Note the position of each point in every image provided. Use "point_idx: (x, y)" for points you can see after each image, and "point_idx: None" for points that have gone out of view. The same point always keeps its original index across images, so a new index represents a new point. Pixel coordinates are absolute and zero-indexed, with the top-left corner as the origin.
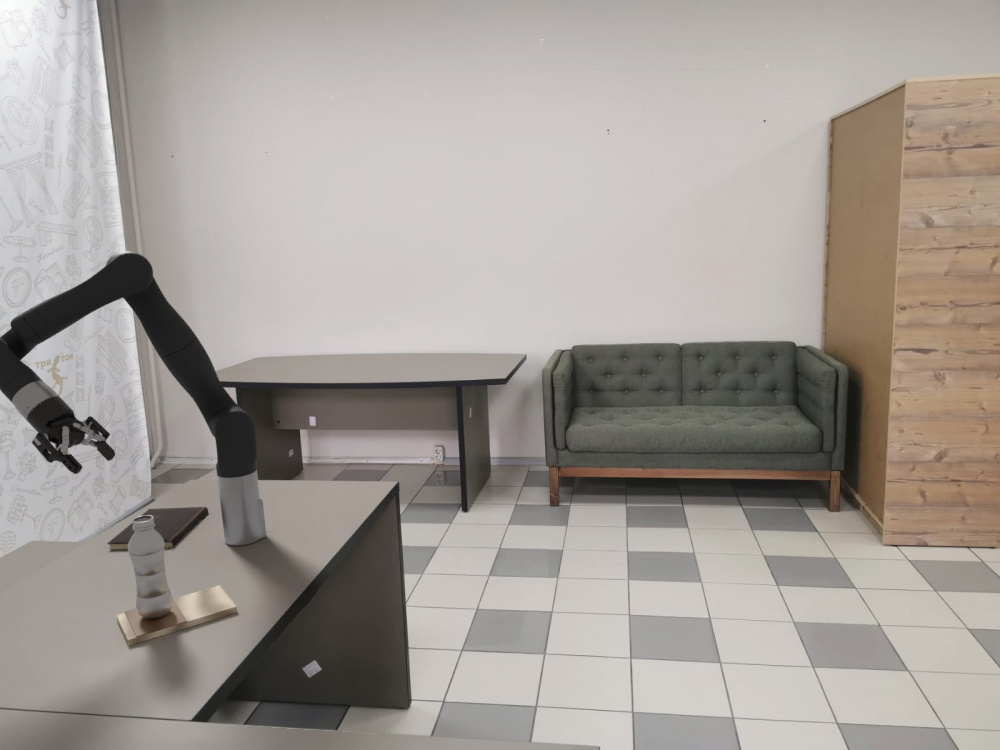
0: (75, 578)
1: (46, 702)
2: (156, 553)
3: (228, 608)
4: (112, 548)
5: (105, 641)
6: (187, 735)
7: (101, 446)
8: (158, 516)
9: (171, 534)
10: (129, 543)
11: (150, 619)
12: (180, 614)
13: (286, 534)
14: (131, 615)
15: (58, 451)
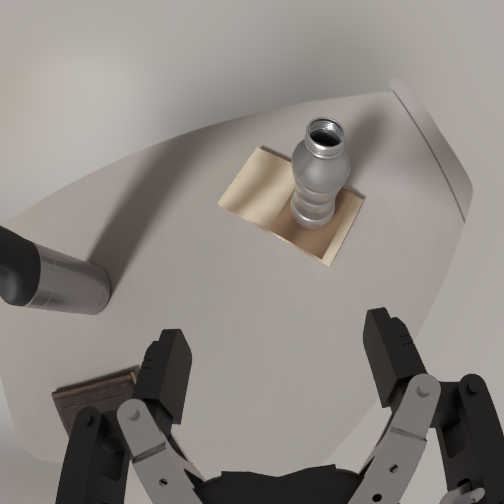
0: (254, 431)
1: (447, 198)
2: (322, 145)
3: (264, 151)
4: None
5: (367, 237)
6: (401, 85)
7: (169, 396)
8: None
9: (115, 387)
10: (347, 169)
11: None
12: None
13: (77, 246)
14: (325, 241)
15: (441, 412)
